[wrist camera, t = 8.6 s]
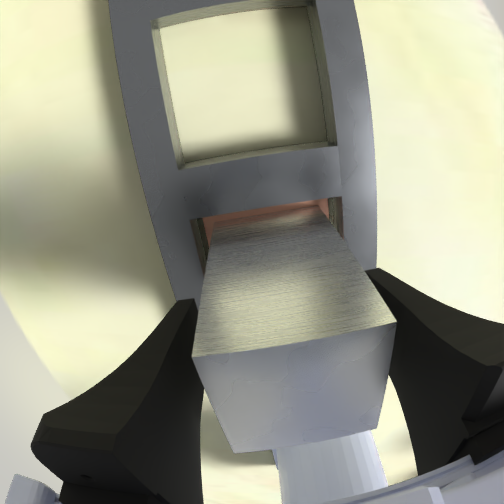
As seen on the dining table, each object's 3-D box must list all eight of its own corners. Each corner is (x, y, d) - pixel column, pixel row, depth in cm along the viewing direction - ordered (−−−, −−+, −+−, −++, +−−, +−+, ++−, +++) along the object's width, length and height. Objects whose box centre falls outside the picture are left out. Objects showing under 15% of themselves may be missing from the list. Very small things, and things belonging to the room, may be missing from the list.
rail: (360, 349, 18) (368, 366, 17) (211, 373, 18) (210, 392, 17) (322, -65, 8) (331, -79, 7) (116, -34, 9) (104, -45, 7)
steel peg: (324, 292, 16) (376, 428, 8) (233, 307, 16) (233, 453, 9) (318, 205, 14) (396, 321, 6) (214, 222, 14) (192, 357, 7)
